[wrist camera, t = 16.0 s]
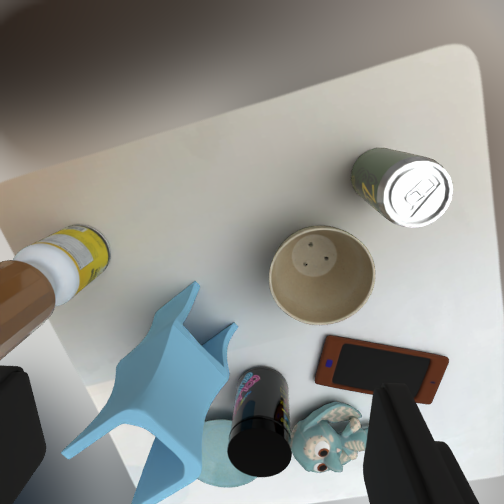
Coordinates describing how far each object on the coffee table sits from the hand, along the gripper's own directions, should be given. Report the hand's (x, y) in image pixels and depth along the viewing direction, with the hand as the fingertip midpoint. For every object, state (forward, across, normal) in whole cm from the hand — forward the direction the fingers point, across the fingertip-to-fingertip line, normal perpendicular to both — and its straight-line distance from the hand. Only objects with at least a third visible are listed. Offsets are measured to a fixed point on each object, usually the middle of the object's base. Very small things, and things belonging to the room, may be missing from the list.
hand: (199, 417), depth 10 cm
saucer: (+31, +4, +35) cm, 47 cm away
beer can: (+32, -12, -2) cm, 34 cm away
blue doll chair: (+32, +8, +16) cm, 36 cm away
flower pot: (+32, -6, +7) cm, 33 cm away
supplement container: (+32, -1, +25) cm, 40 cm away
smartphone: (+32, -15, +22) cm, 41 cm away
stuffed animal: (+32, -10, +31) cm, 46 cm away
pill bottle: (+32, +20, +7) cm, 38 cm away
